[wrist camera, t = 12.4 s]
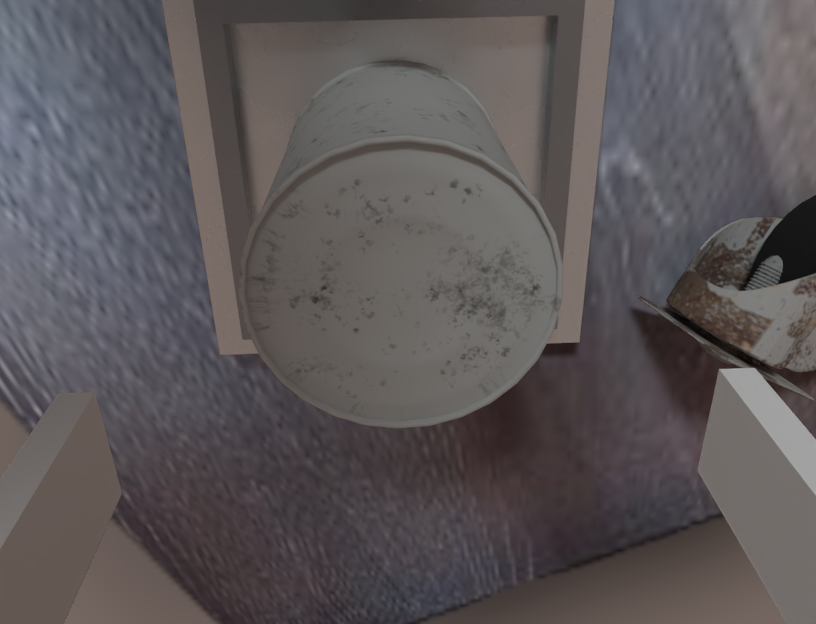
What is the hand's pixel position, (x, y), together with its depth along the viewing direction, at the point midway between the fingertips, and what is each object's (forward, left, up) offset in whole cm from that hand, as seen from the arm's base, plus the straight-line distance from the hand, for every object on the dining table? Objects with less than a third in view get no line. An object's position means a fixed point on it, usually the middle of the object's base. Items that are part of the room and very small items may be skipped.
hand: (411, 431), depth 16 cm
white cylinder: (0, 0, -19) cm, 19 cm away
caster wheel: (+6, +19, -21) cm, 29 cm away
